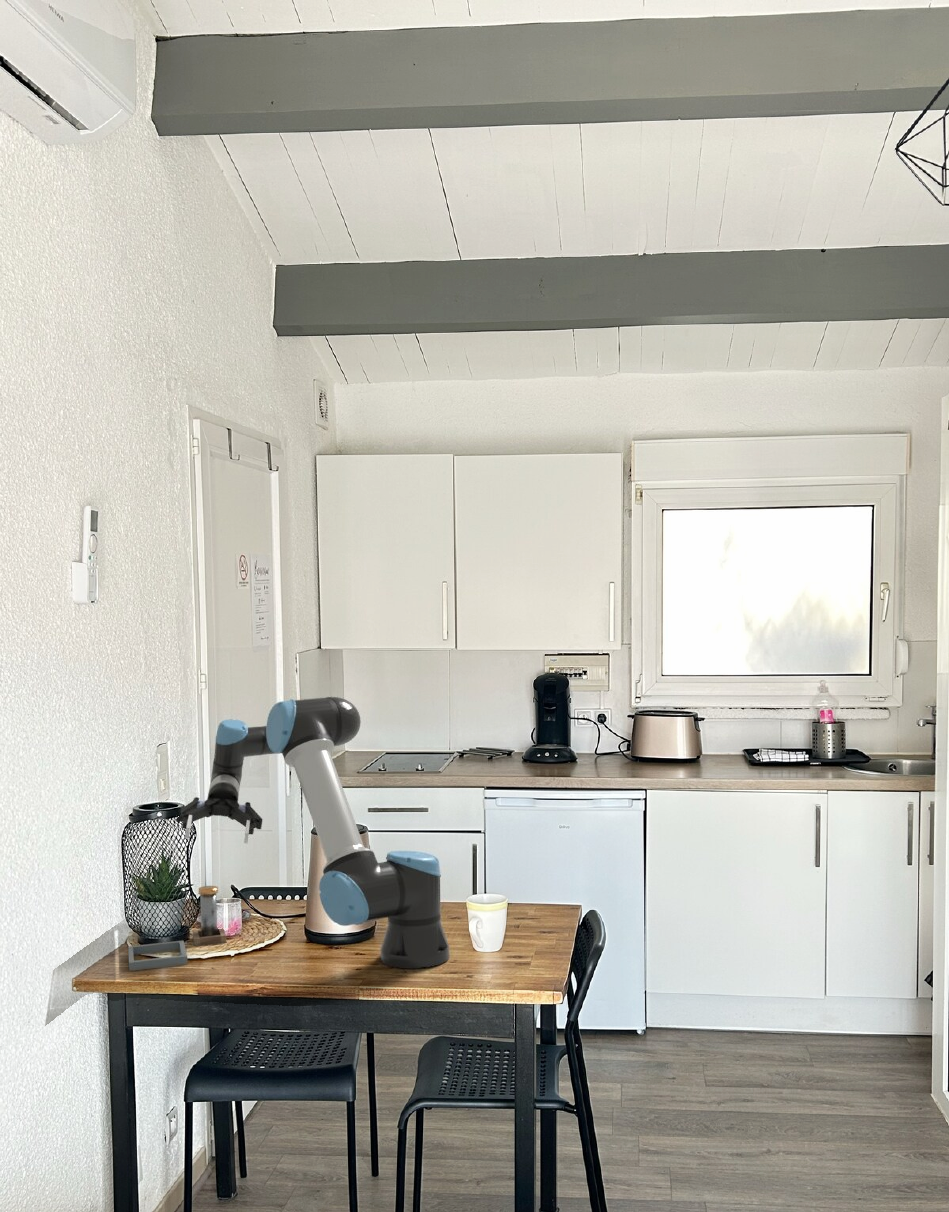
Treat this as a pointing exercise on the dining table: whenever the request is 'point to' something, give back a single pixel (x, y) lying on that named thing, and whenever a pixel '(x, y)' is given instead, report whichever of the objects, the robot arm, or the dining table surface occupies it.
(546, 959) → the dining table surface
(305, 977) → the dining table surface
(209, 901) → the pin
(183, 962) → the tray
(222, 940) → the socket block
